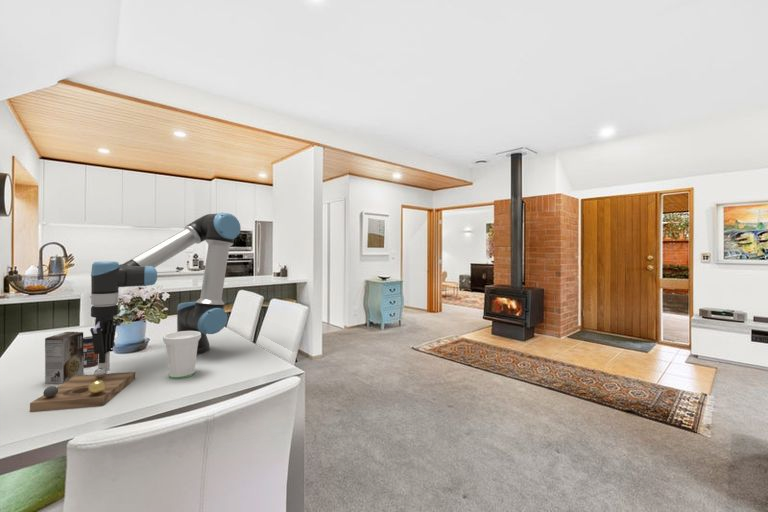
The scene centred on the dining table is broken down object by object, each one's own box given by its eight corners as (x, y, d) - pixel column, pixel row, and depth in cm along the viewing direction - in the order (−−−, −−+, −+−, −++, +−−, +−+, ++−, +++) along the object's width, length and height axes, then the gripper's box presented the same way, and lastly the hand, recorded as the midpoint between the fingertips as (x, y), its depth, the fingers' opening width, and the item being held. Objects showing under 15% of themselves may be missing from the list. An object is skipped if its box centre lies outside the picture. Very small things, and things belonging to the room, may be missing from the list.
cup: (160, 383, 121) (161, 340, 121) (164, 371, 132) (164, 332, 132) (200, 377, 127) (200, 336, 126) (200, 367, 138) (201, 329, 138)
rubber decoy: (60, 394, 105) (60, 383, 105) (53, 398, 102) (53, 388, 101) (47, 395, 104) (48, 384, 104) (40, 399, 101) (40, 389, 101)
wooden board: (76, 382, 120) (76, 375, 120) (135, 378, 124) (135, 371, 124) (29, 411, 99) (29, 403, 98) (103, 405, 103) (103, 397, 103)
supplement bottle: (86, 368, 134) (87, 339, 134) (74, 366, 135) (74, 338, 135) (102, 363, 140) (102, 336, 140) (90, 362, 141) (90, 335, 141)
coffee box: (66, 374, 127) (66, 331, 127) (84, 374, 128) (84, 331, 128) (43, 384, 118) (43, 337, 118) (63, 383, 119) (63, 337, 118)
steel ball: (108, 375, 120) (108, 366, 120) (103, 379, 117) (103, 369, 117) (97, 376, 119) (97, 366, 119) (91, 380, 116) (91, 370, 116)
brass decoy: (108, 390, 108) (108, 377, 108) (101, 396, 104) (101, 382, 104) (92, 391, 107) (92, 378, 107) (84, 397, 103) (85, 383, 103)
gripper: (102, 302, 126) (101, 365, 126) (81, 308, 113) (80, 378, 114) (125, 302, 128) (125, 364, 128) (107, 307, 115) (106, 377, 115)
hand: (103, 371), depth 121 cm, fingers closed
